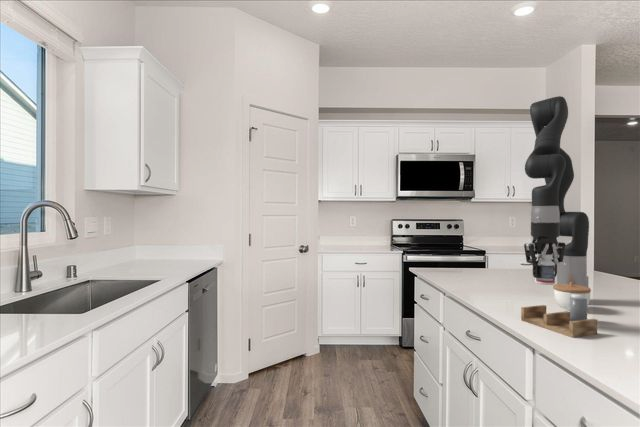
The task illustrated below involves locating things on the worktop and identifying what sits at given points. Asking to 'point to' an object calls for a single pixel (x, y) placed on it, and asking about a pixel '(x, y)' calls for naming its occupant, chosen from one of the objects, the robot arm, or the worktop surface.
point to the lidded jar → (569, 294)
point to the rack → (558, 321)
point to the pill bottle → (547, 271)
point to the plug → (578, 307)
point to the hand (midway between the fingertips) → (544, 276)
